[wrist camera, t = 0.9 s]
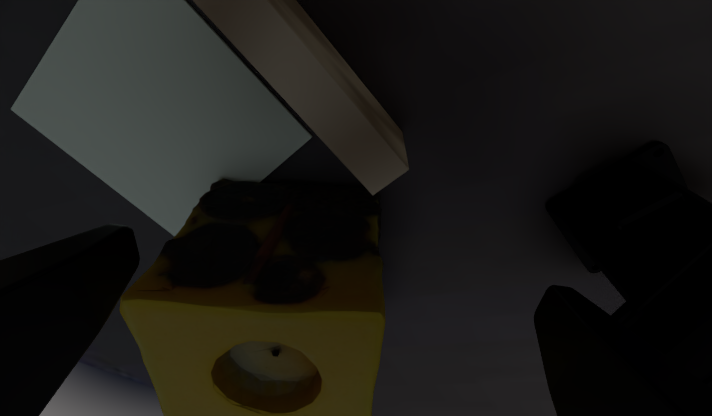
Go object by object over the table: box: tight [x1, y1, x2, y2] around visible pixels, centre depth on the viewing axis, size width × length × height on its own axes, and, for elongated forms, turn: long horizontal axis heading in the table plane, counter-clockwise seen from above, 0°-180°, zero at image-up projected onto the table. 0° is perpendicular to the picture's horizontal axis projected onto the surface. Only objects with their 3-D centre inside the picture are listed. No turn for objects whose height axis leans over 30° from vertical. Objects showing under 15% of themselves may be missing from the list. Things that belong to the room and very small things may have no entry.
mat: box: [11, 0, 312, 236], centre depth 20 cm, size 12×12×1 cm
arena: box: [193, 0, 409, 195], centre depth 18 cm, size 20×21×5 cm
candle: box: [120, 178, 385, 416], centre depth 19 cm, size 10×10×10 cm
